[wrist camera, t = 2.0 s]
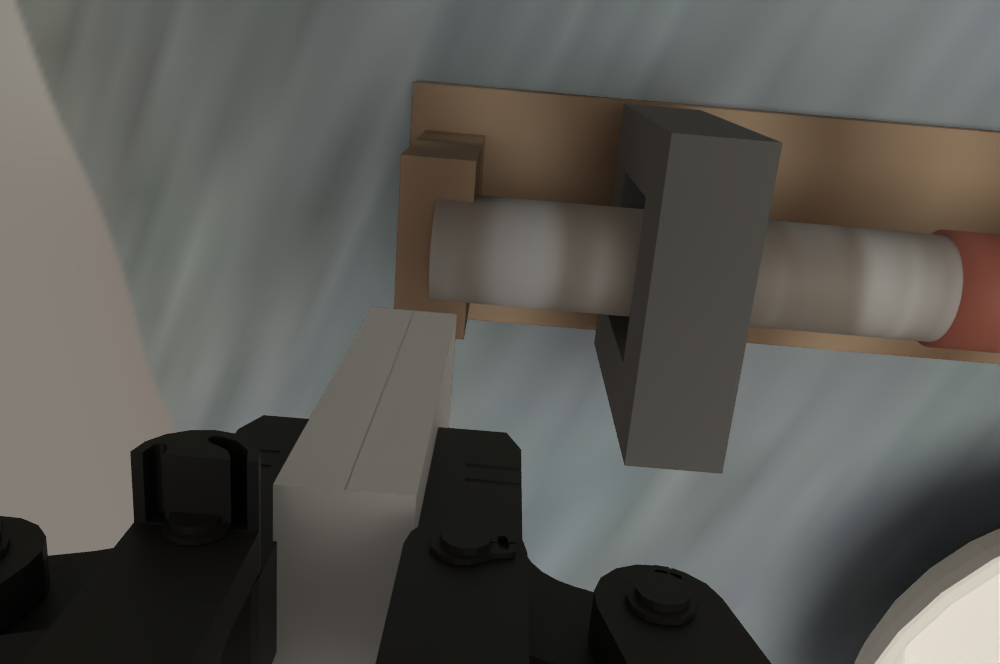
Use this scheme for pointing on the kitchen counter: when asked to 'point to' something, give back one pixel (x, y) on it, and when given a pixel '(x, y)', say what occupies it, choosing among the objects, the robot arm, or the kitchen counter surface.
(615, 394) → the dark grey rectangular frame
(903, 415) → the kitchen counter surface
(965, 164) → the pipe stand
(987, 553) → the bowl
